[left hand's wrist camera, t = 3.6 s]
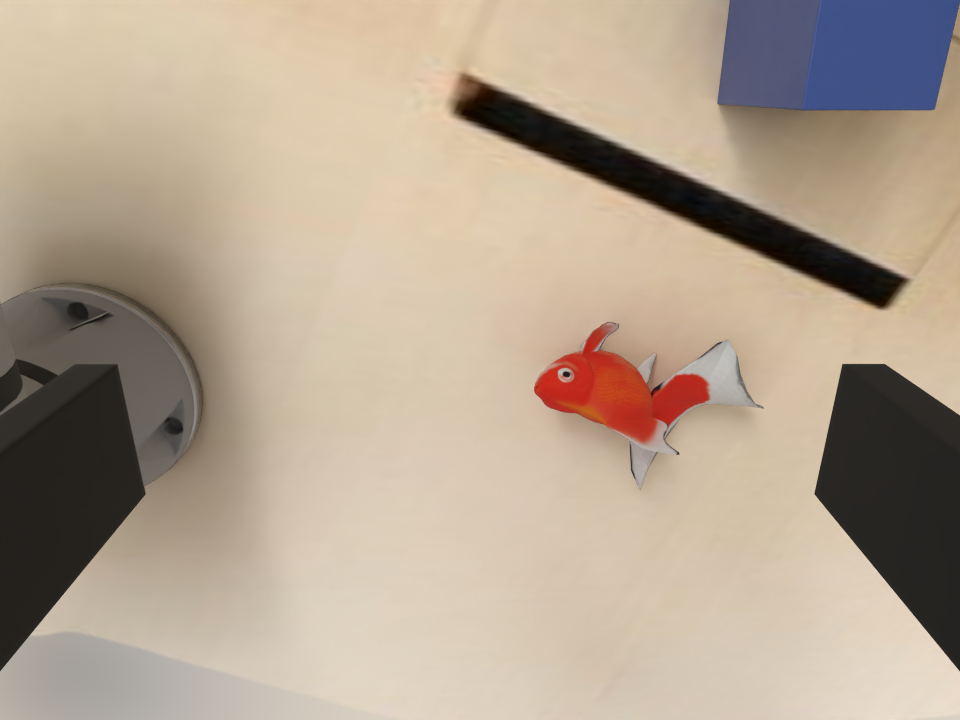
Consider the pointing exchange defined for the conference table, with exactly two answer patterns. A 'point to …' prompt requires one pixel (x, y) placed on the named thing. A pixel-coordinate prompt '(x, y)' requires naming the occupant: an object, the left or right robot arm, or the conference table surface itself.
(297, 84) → the conference table surface
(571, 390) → the fish
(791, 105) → the box
